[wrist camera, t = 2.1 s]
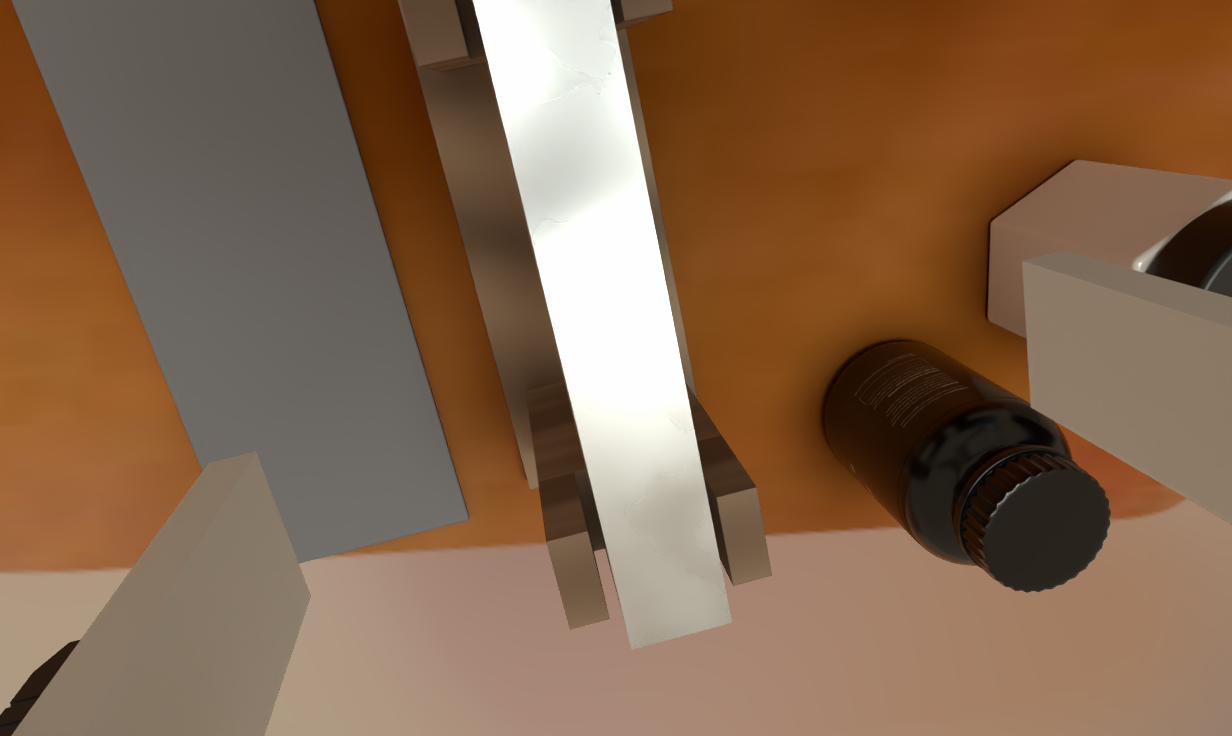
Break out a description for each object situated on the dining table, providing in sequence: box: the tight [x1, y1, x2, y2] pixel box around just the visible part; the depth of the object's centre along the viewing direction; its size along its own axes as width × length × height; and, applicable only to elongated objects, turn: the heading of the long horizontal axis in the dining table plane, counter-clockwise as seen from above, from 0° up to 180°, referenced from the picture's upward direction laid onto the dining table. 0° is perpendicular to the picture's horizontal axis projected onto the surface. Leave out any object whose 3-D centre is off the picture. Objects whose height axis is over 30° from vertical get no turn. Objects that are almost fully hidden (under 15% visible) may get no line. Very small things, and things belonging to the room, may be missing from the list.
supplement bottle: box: [825, 341, 1111, 592], centre depth 35 cm, size 7×7×12 cm
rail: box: [471, 0, 732, 649], centre depth 24 cm, size 20×3×5 cm, turn 12°
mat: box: [12, 0, 469, 563], centre depth 35 cm, size 24×10×1 cm, turn 12°
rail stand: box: [398, 0, 772, 629], centre depth 30 cm, size 22×8×14 cm, turn 12°
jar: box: [988, 160, 1232, 339], centre depth 34 cm, size 9×8×12 cm
